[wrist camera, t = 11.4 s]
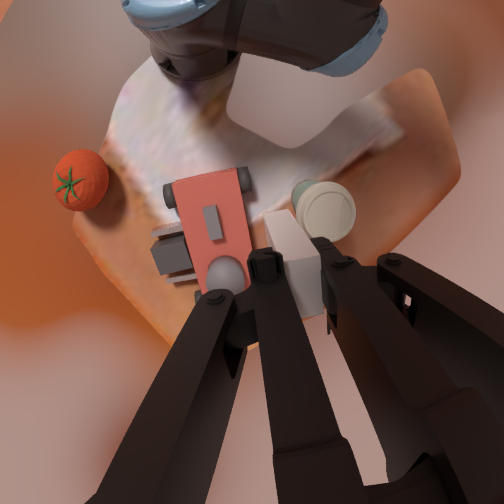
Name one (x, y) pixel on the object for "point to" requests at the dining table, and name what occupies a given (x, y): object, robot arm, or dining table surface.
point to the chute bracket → (178, 275)
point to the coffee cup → (323, 209)
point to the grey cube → (171, 254)
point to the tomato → (80, 180)
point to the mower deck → (228, 215)
